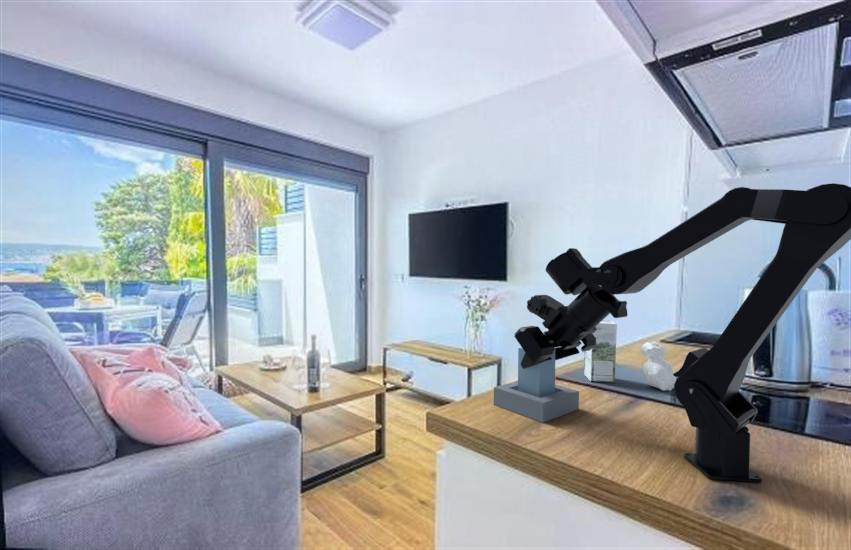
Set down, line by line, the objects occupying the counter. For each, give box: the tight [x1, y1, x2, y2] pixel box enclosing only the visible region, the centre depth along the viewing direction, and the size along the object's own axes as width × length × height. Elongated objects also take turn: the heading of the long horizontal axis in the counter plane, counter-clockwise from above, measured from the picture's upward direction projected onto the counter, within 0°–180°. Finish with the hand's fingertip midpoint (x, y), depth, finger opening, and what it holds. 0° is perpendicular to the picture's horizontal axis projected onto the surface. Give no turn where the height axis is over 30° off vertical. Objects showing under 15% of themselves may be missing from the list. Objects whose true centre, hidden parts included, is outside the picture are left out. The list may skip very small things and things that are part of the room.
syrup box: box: [583, 319, 618, 383], centre depth 99 cm, size 6×6×14 cm
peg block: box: [517, 347, 556, 398], centre depth 79 cm, size 5×5×10 cm
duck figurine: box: [640, 341, 677, 392], centre depth 94 cm, size 12×8×11 cm
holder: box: [493, 380, 580, 424], centre depth 79 cm, size 12×12×4 cm
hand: (530, 364), depth 80 cm, fingers closed on peg block, 5 cm apart
